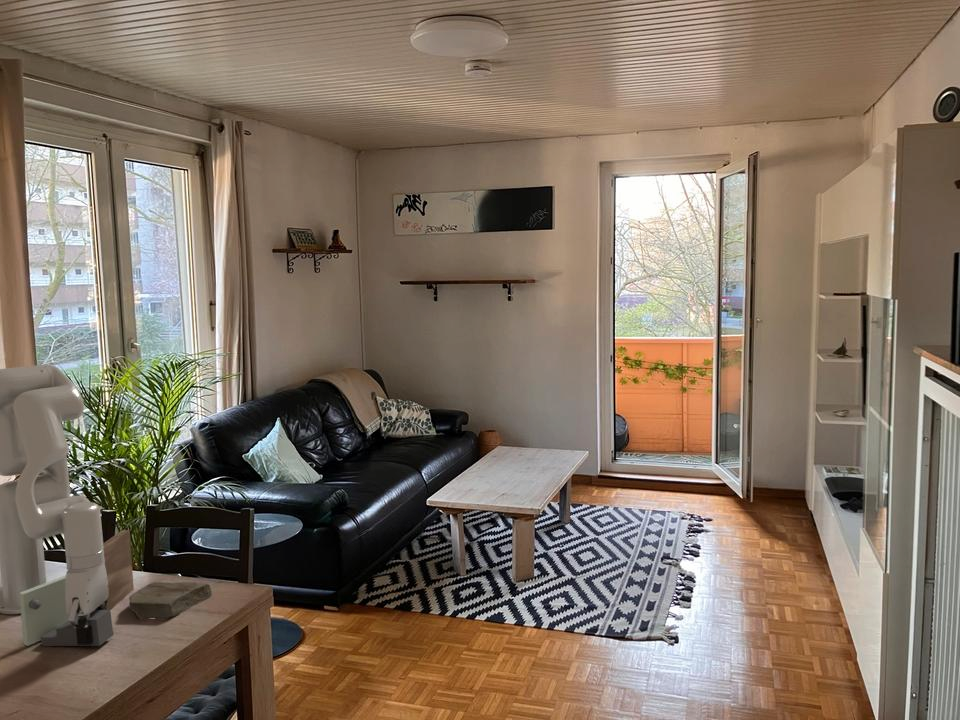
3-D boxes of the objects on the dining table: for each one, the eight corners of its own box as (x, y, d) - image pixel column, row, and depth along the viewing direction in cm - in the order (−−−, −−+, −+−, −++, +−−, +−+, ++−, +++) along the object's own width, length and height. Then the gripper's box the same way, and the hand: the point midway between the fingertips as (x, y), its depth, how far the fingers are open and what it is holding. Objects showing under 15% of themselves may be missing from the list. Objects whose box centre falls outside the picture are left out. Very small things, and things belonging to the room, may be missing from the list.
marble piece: (213, 595, 198) (212, 580, 198) (184, 622, 184) (183, 605, 183) (152, 592, 201) (151, 577, 200) (118, 618, 186) (117, 602, 186)
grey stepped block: (42, 645, 172) (38, 620, 172) (57, 635, 177) (53, 610, 177) (99, 645, 170) (96, 619, 170) (113, 635, 175) (110, 609, 175)
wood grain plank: (98, 612, 188) (94, 549, 186) (126, 589, 202) (122, 530, 200) (106, 612, 188) (102, 549, 186) (133, 589, 202) (129, 530, 200)
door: (23, 644, 172) (19, 592, 171) (95, 612, 187) (92, 565, 186) (31, 647, 171) (26, 595, 169) (102, 615, 186) (99, 567, 184)
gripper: (89, 546, 180) (96, 620, 182) (45, 574, 163) (53, 656, 165) (121, 545, 179) (127, 620, 181) (80, 574, 162) (88, 656, 164)
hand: (92, 636), depth 173 cm, fingers closed on grey stepped block, 5 cm apart
